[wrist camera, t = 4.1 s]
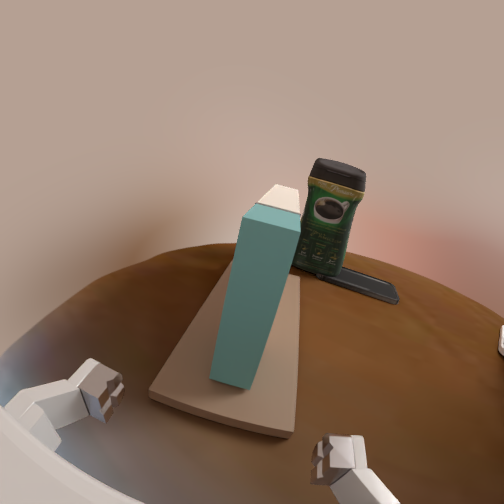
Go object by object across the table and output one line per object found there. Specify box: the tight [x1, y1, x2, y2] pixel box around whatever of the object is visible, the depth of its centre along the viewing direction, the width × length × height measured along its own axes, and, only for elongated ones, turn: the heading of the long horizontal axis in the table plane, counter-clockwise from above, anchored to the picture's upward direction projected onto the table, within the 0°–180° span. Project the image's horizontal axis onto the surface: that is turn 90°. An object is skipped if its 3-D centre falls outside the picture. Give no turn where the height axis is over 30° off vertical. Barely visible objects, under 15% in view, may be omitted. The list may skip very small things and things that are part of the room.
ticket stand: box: [148, 184, 300, 439], centre depth 25 cm, size 26×10×13 cm, turn 169°
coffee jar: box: [292, 158, 366, 277], centre depth 44 cm, size 10×8×19 cm
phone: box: [316, 267, 399, 304], centre depth 44 cm, size 8×1×15 cm
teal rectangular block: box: [209, 203, 301, 390], centre depth 18 cm, size 5×3×12 cm, turn 169°
